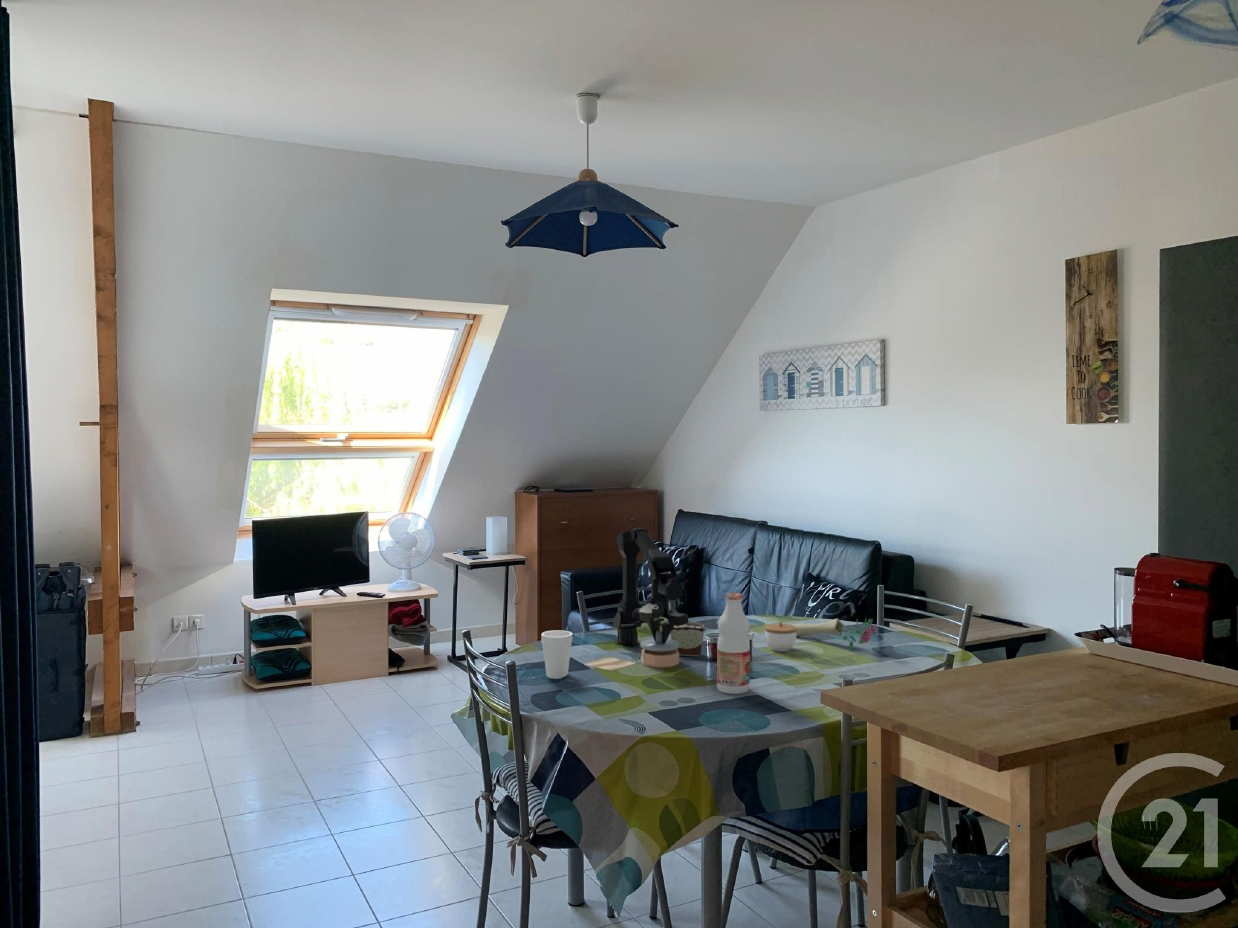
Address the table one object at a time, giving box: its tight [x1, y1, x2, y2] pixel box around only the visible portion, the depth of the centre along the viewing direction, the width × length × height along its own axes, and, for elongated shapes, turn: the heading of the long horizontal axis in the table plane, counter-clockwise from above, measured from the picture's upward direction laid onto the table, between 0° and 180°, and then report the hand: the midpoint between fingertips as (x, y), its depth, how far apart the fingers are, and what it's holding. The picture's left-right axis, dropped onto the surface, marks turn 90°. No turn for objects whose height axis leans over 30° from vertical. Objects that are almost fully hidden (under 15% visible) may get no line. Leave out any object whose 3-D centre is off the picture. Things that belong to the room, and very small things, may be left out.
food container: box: [670, 621, 707, 657], centre depth 310 cm, size 12×6×10 cm, turn 84°
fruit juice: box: [716, 592, 751, 695], centre depth 268 cm, size 9×9×28 cm
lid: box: [640, 629, 679, 651], centre depth 297 cm, size 12×12×5 cm
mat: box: [583, 656, 637, 672], centre depth 296 cm, size 12×12×1 cm
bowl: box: [641, 648, 680, 668], centre depth 297 cm, size 12×12×4 cm
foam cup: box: [540, 629, 574, 680], centre depth 283 cm, size 10×9×13 cm
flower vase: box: [792, 617, 877, 652], centre depth 321 cm, size 12×12×35 cm
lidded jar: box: [764, 621, 797, 653], centre depth 315 cm, size 11×11×9 cm
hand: (660, 642), depth 297 cm, fingers closed on lid, 3 cm apart
